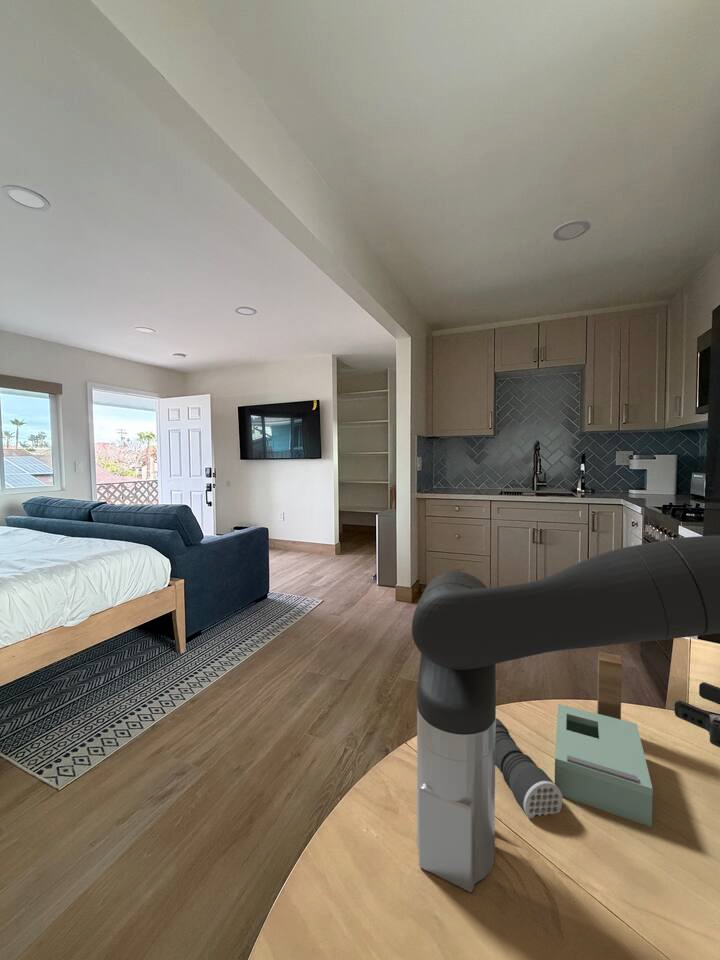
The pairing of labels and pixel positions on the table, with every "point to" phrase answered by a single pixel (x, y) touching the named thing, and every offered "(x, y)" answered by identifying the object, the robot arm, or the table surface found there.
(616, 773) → the peg-in-hole base
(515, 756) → the flashlight
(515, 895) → the table surface
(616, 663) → the wooden peg
